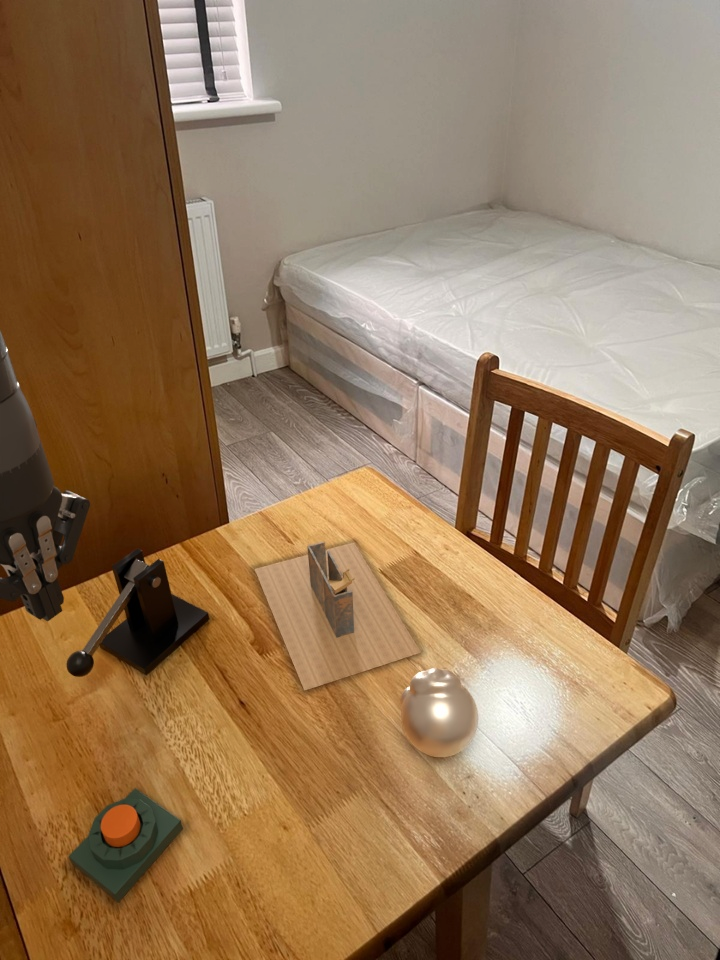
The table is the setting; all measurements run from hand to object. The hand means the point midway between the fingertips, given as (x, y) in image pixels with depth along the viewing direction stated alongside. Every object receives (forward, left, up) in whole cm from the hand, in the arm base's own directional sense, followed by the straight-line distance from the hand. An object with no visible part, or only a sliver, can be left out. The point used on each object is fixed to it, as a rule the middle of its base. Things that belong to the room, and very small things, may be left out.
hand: (48, 613), depth 64 cm
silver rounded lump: (+26, -26, -29) cm, 47 cm away
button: (-3, -5, -26) cm, 27 cm away
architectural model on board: (+37, -3, -29) cm, 47 cm away
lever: (+15, +15, -23) cm, 31 cm away
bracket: (+20, +15, -29) cm, 38 cm away
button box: (-3, -5, -29) cm, 30 cm away
